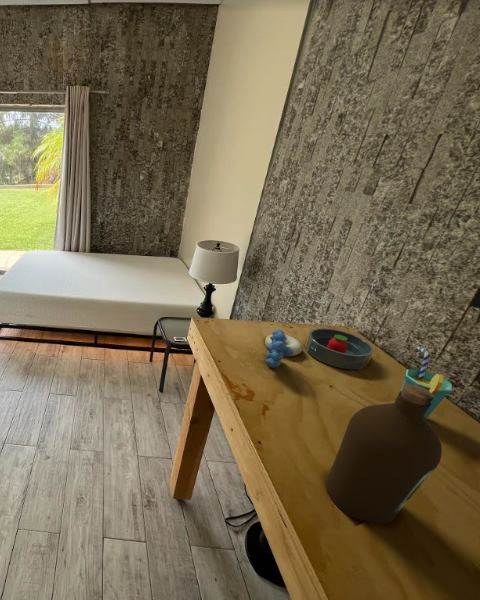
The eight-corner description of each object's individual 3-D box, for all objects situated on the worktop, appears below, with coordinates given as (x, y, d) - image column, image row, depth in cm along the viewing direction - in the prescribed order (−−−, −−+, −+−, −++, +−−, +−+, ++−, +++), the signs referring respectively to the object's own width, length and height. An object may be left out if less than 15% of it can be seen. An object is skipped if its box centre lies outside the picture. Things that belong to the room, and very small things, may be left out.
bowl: (327, 337, 105) (331, 324, 103) (379, 363, 92) (386, 349, 90) (293, 347, 100) (297, 333, 98) (343, 375, 87) (349, 360, 85)
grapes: (289, 382, 85) (301, 345, 80) (260, 375, 88) (271, 338, 83) (286, 359, 95) (298, 324, 89) (261, 353, 97) (270, 319, 92)
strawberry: (332, 348, 99) (338, 332, 96) (347, 355, 95) (353, 339, 92) (322, 351, 97) (328, 335, 95) (336, 359, 94) (343, 342, 91)
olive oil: (317, 503, 56) (370, 394, 46) (324, 462, 63) (372, 360, 53) (398, 546, 50) (482, 432, 39) (396, 495, 57) (466, 387, 46)
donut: (291, 341, 103) (259, 339, 105) (294, 332, 102) (261, 330, 103) (306, 360, 94) (271, 357, 96) (310, 350, 93) (274, 347, 94)
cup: (375, 389, 82) (399, 340, 76) (414, 398, 79) (442, 348, 73) (397, 428, 71) (427, 375, 64) (444, 440, 68) (480, 385, 61)
